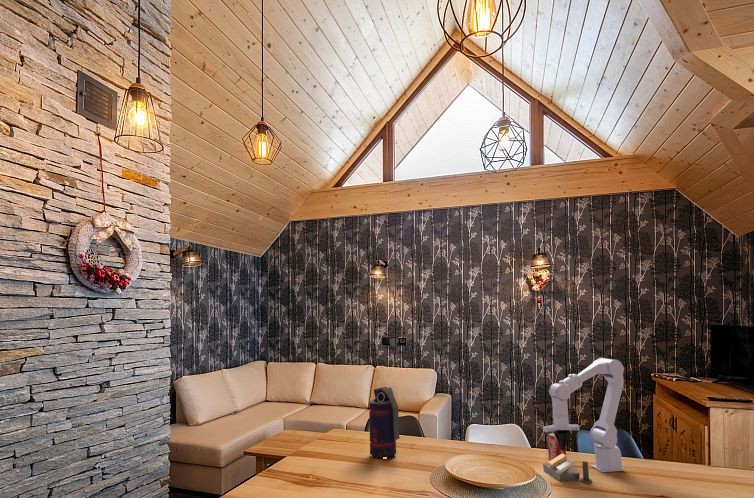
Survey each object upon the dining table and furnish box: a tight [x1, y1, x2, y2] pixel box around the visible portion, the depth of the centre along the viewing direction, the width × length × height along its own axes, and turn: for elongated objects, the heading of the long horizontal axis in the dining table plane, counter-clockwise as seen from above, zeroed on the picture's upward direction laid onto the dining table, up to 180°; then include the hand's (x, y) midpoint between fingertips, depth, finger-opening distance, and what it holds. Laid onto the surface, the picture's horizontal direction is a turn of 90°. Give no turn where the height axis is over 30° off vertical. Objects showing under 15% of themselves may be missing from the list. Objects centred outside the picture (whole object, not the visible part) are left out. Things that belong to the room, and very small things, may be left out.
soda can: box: [547, 432, 567, 463], centre depth 206 cm, size 7×7×12 cm
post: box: [579, 461, 593, 484], centre depth 185 cm, size 4×4×7 cm
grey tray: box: [542, 462, 581, 482], centre depth 192 cm, size 8×13×4 cm, turn 8°
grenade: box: [368, 386, 400, 458], centre depth 221 cm, size 14×12×30 cm
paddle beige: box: [556, 458, 577, 472], centre depth 188 cm, size 7×3×2 cm, turn 101°
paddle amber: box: [547, 454, 568, 467], centre depth 194 cm, size 7×3×2 cm, turn 101°
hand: (562, 449), depth 195 cm, fingers closed
